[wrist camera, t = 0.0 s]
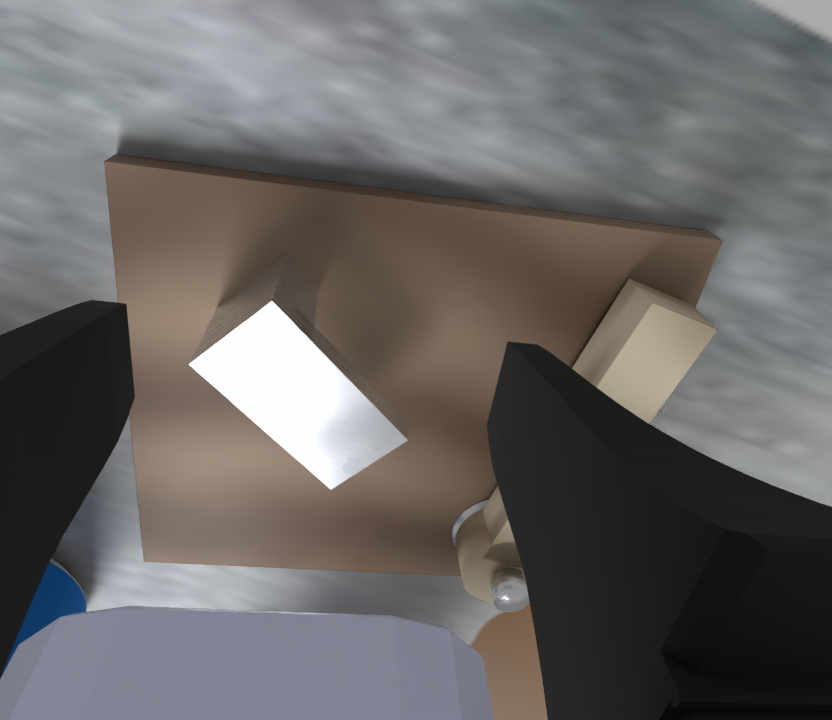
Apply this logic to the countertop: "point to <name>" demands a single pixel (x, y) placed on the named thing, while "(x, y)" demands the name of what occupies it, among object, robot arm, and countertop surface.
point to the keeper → (309, 389)
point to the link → (620, 380)
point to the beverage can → (51, 602)
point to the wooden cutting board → (351, 349)
